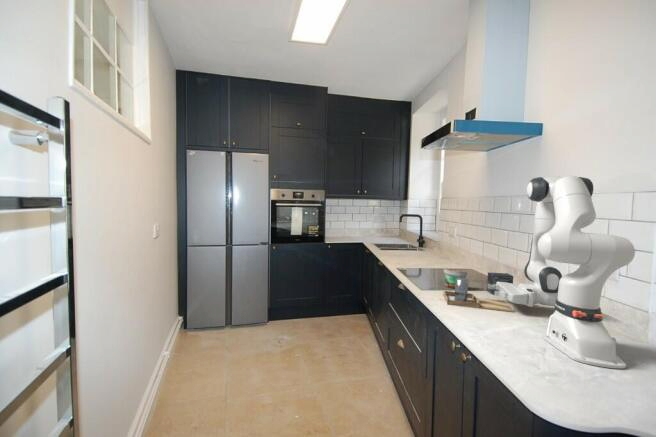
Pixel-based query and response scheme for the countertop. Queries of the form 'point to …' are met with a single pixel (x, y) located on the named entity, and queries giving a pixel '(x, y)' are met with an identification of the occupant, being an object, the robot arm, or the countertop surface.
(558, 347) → the robot arm
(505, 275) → the small box
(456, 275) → the food container
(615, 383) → the countertop surface
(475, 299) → the wooden tray board
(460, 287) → the slate tin
